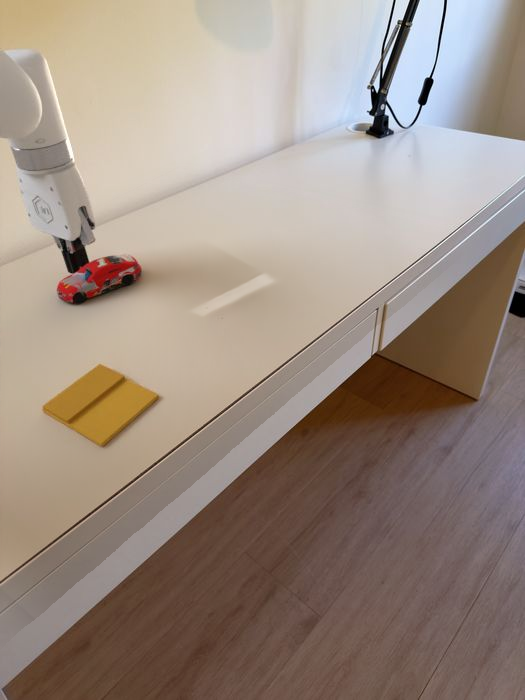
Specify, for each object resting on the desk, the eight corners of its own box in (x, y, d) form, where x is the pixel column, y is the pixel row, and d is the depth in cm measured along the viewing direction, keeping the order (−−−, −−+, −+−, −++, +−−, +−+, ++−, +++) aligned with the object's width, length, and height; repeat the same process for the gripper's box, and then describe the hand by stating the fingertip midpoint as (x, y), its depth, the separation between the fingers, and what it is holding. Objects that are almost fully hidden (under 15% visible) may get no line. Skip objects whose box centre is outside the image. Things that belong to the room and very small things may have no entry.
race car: (65, 310, 78) (57, 287, 75) (54, 294, 81) (46, 271, 79) (147, 280, 83) (142, 257, 81) (133, 266, 87) (128, 244, 84)
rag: (101, 447, 57) (99, 441, 56) (42, 412, 61) (40, 405, 61) (159, 397, 62) (157, 391, 62) (101, 368, 67) (99, 362, 66)
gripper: (-14, 154, 73) (30, 269, 85) (57, 172, 66) (94, 294, 78) (31, 138, 78) (67, 248, 89) (101, 153, 71) (130, 271, 83)
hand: (79, 269), depth 84 cm, fingers closed
